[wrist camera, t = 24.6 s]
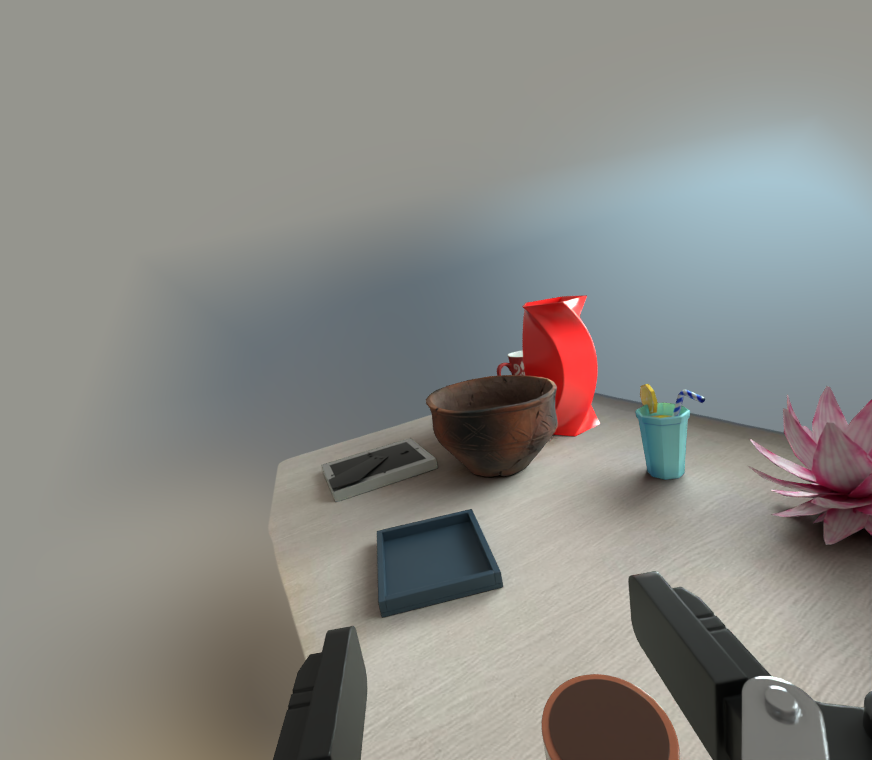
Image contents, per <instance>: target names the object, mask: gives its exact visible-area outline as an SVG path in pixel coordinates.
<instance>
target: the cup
mask: <svg viewBox="0 0 872 760" xmlns="http://www.w3.org/2000/svg"><path fill="white" fill-rule="evenodd" d="M684 396H687V397H690V398H692V399H694V400H696V401H698V402H701V403H703V402H704V401H705V398H704V397H701V396H699V395H697V394H695V393H693V392H691V391H688V390H683V391H681V392H680V393H679V394H678V397H677V401H676V404H671V403H658V402H657V399H656V395H655V392H654V390H653V389H652V388H651V386H650V385H649V384H645V385H643V386H641V390H640V397H641V400H642V404H643V406H642V407H641V408H639V409H637V410H636V411H635V413H636V417H637V418H638V419H639V425H640V431H641V437H642V442H643V448H644V454H645V459H646V465H647V471H648V472H649V473H650V475H651V476H652V477H656V478H660V479H664V480H666V479H676V478H679V477H681V476H682V475H683V474H684V470H685V453H686V437H687V420H688V418H689V417H690V411H689V410H688V409H686V408H685V407H683V406H682V402H683V399H684Z"/></svg>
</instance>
